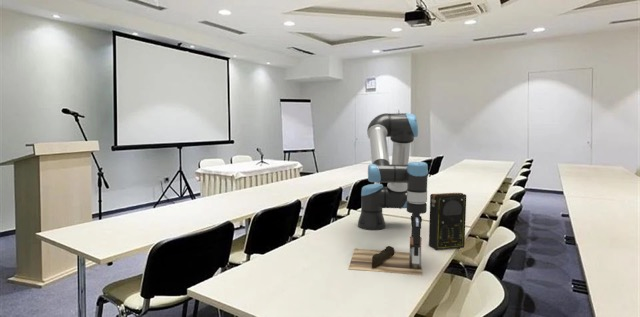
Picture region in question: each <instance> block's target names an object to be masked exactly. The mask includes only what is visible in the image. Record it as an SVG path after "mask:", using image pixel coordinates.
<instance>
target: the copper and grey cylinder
mask: <svg viewBox="0 0 640 317" xmlns="http://www.w3.org/2000/svg"><path fill="white" fill-rule="evenodd" d="M422 240H423V239H422V237H421V236H420V261H419V264H414V263H412V247H411V245H413V236H411V235H410V236H409V253H410V255H409V268H411V269H415V270H417V269H421V268H422Z"/></svg>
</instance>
